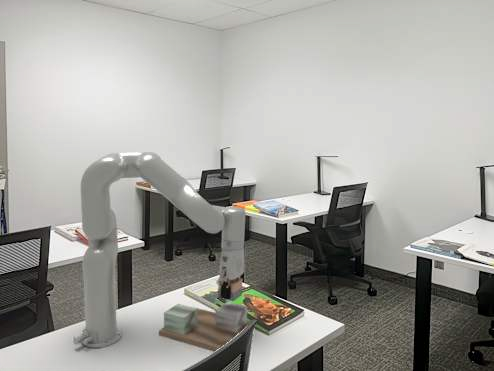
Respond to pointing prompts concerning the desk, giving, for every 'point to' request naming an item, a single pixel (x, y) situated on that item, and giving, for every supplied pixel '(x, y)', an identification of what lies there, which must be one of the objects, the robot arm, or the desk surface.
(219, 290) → the housing
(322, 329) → the desk surface
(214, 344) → the stand board
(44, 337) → the desk surface
